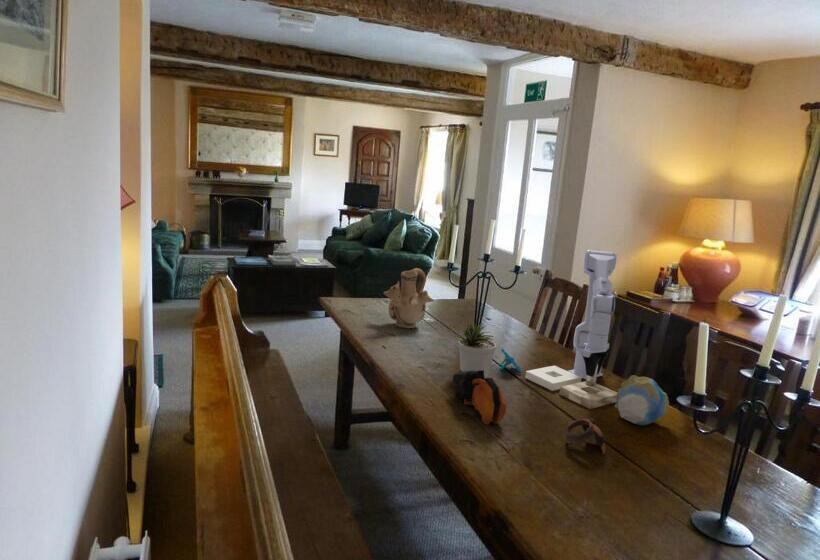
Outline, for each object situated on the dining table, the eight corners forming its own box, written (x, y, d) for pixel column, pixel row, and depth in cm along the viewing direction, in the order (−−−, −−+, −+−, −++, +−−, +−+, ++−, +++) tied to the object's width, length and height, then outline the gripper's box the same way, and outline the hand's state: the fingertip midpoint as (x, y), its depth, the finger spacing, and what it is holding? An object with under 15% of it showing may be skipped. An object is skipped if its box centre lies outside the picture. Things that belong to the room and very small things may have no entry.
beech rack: (587, 387, 185) (588, 380, 185) (618, 401, 176) (620, 393, 175) (559, 394, 177) (560, 386, 177) (590, 409, 168) (591, 401, 167)
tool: (473, 419, 171) (470, 370, 173) (512, 424, 150) (507, 367, 152) (449, 421, 168) (446, 371, 171) (485, 426, 147) (481, 368, 150)
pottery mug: (606, 462, 137) (594, 435, 136) (570, 467, 142) (557, 440, 141) (611, 432, 147) (599, 406, 146) (577, 437, 152) (565, 412, 151)
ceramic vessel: (381, 319, 247) (385, 264, 242) (422, 320, 252) (427, 265, 247) (388, 332, 230) (393, 272, 225) (433, 332, 234) (438, 274, 229)
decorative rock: (635, 376, 153) (680, 377, 157) (600, 373, 168) (642, 374, 172) (636, 428, 151) (682, 428, 155) (601, 420, 166) (643, 419, 170)
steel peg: (588, 382, 178) (591, 355, 176) (597, 385, 176) (600, 357, 174) (583, 384, 176) (587, 357, 174) (592, 387, 174) (596, 359, 172)
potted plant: (454, 366, 195) (459, 311, 191) (493, 372, 193) (500, 316, 189) (449, 379, 183) (454, 320, 179) (491, 385, 180) (498, 325, 177)
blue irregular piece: (525, 372, 191) (506, 350, 190) (512, 383, 191) (493, 361, 190) (518, 365, 202) (501, 344, 201) (506, 375, 202) (488, 355, 201)
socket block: (553, 372, 197) (554, 365, 197) (580, 384, 188) (581, 377, 187) (525, 377, 190) (526, 371, 189) (552, 390, 180) (553, 383, 179)
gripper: (596, 326, 180) (590, 366, 183) (575, 333, 170) (569, 375, 172) (617, 331, 176) (611, 372, 178) (597, 339, 165) (591, 382, 168)
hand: (592, 374), depth 175 cm, fingers closed on steel peg, 3 cm apart
